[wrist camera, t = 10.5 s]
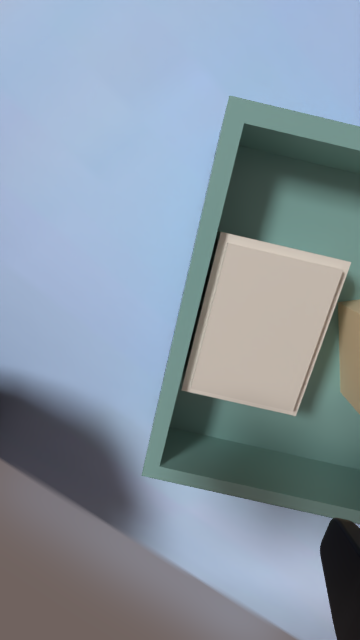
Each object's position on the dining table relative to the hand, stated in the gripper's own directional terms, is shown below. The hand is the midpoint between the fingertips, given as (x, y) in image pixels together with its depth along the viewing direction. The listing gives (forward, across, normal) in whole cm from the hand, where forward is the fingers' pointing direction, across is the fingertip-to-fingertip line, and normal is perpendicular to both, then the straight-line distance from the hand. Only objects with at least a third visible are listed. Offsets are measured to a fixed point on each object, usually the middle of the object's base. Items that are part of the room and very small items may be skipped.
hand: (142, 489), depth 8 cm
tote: (+13, -8, -2) cm, 15 cm away
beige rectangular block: (+12, -4, -2) cm, 13 cm away
